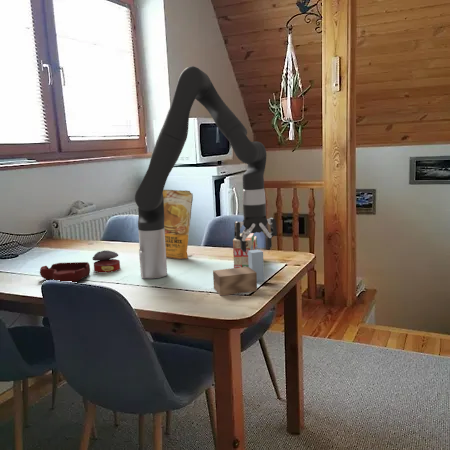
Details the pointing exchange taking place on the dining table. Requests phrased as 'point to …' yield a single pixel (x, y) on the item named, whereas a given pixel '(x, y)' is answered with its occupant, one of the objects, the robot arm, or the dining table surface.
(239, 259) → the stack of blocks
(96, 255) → the canned food
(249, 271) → the step
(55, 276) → the ashtray
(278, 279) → the dining table surface
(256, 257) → the block
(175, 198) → the pancake mix bag
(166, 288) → the dining table surface
